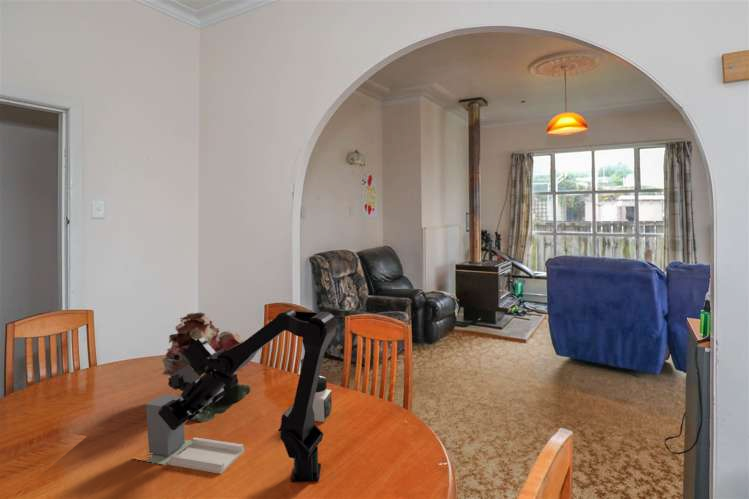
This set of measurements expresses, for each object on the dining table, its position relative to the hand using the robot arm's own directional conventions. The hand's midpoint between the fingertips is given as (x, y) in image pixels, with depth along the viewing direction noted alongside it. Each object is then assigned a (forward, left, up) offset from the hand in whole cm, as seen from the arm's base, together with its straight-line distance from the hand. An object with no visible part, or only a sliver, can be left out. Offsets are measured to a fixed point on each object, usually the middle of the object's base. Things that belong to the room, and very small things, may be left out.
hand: (176, 421), depth 110 cm
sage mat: (+1, +4, -9) cm, 10 cm away
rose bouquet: (+32, +5, -9) cm, 34 cm away
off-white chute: (-3, -9, -9) cm, 13 cm away
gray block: (+1, +3, -9) cm, 9 cm away
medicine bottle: (+18, -35, -9) cm, 40 cm away
